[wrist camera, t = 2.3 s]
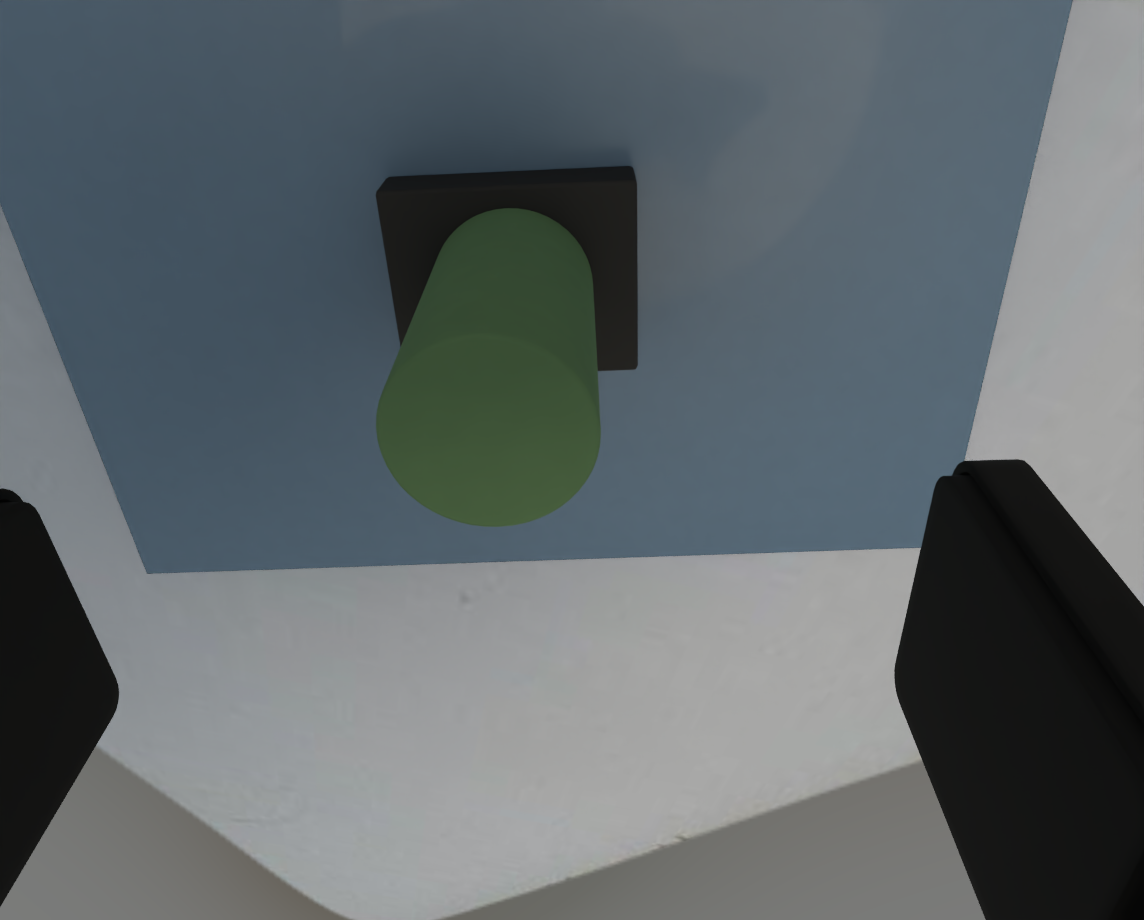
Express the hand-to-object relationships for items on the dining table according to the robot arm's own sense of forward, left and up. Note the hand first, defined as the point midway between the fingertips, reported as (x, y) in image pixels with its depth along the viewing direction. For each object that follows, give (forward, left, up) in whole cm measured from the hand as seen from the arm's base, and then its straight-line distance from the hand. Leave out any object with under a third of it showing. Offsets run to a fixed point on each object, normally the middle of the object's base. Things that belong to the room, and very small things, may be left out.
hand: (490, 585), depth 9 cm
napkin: (0, 0, -11) cm, 11 cm away
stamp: (0, 0, -11) cm, 11 cm away
